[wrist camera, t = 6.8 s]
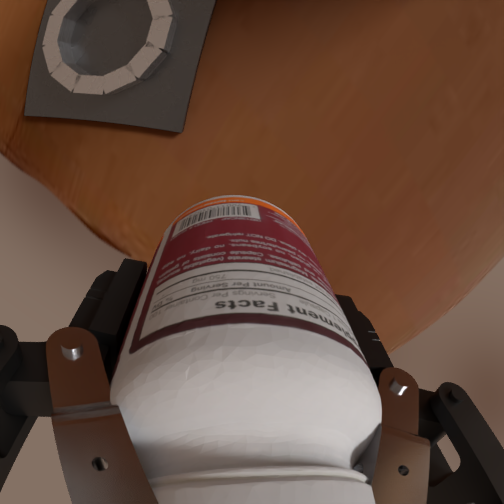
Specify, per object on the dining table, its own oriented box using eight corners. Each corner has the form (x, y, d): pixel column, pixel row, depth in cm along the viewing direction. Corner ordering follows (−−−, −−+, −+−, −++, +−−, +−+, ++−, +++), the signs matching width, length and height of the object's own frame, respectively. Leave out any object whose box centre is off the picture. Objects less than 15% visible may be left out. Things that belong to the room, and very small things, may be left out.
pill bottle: (245, 342, 15) (265, 577, 6) (132, 275, 13) (45, 539, 3) (339, 250, 13) (473, 508, 4) (220, 155, 11) (183, 527, 1)
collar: (227, -33, 19) (227, -48, 16) (183, 131, 26) (177, 136, 23) (65, -36, 16) (50, -46, 13) (29, 114, 23) (9, 119, 20)
